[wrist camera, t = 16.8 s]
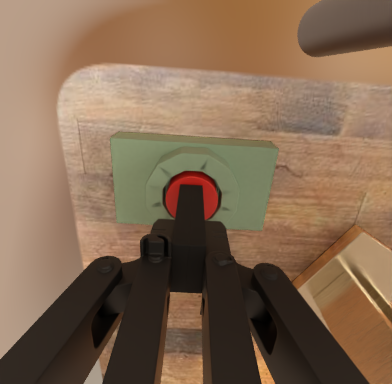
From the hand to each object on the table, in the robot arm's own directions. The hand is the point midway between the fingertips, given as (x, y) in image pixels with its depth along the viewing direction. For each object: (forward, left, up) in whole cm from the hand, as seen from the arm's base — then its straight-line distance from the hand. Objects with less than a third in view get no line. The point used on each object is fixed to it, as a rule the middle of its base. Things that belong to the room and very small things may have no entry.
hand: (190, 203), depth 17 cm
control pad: (0, 0, -5) cm, 5 cm away
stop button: (0, 0, -2) cm, 2 cm away
